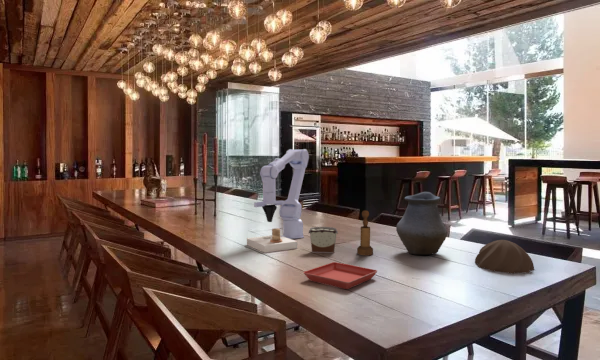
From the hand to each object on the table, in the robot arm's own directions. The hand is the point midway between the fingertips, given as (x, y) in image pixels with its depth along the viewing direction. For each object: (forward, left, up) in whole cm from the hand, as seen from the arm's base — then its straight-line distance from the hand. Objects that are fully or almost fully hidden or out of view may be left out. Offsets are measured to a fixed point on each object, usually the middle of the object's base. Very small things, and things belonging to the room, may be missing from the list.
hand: (269, 221), depth 195 cm
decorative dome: (-57, +78, -11) cm, 97 cm away
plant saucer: (+5, +61, -11) cm, 62 cm away
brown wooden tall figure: (-25, +37, -11) cm, 46 cm away
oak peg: (+2, +10, -10) cm, 14 cm away
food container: (-13, +24, -11) cm, 29 cm away
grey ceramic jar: (-46, +48, -11) cm, 68 cm away
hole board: (+2, +5, -10) cm, 12 cm away
